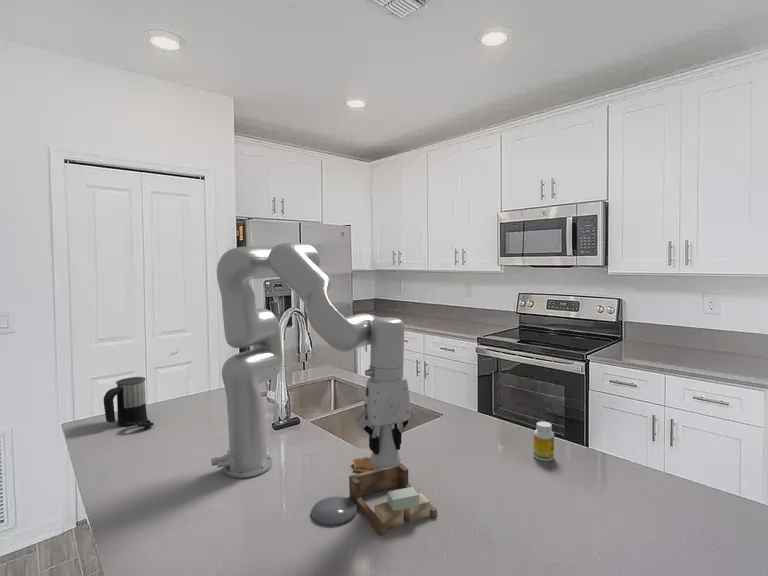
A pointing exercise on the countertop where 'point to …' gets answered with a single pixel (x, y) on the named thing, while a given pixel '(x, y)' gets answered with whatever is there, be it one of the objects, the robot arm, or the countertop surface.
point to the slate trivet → (334, 511)
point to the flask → (386, 450)
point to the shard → (363, 465)
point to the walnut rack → (378, 489)
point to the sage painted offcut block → (403, 498)
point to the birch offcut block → (418, 509)
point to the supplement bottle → (544, 441)
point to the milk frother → (128, 403)
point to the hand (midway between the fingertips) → (385, 449)
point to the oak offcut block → (388, 515)
